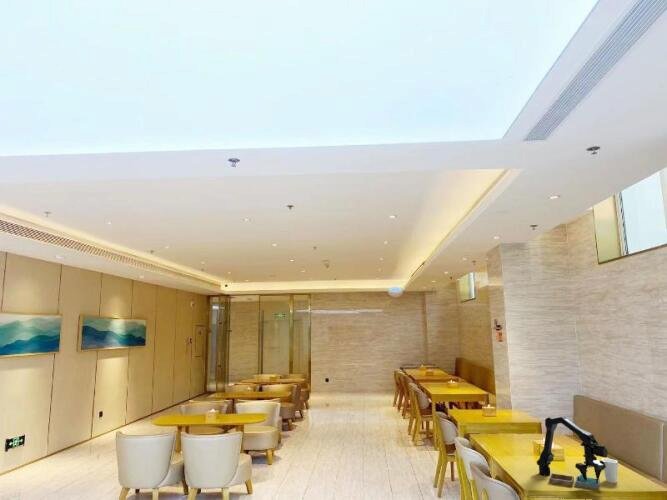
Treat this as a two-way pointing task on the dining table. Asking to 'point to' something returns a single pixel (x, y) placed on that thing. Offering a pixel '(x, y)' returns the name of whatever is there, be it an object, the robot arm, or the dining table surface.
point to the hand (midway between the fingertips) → (591, 480)
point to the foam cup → (611, 470)
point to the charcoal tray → (588, 484)
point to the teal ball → (591, 481)
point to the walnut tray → (562, 480)
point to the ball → (582, 479)
